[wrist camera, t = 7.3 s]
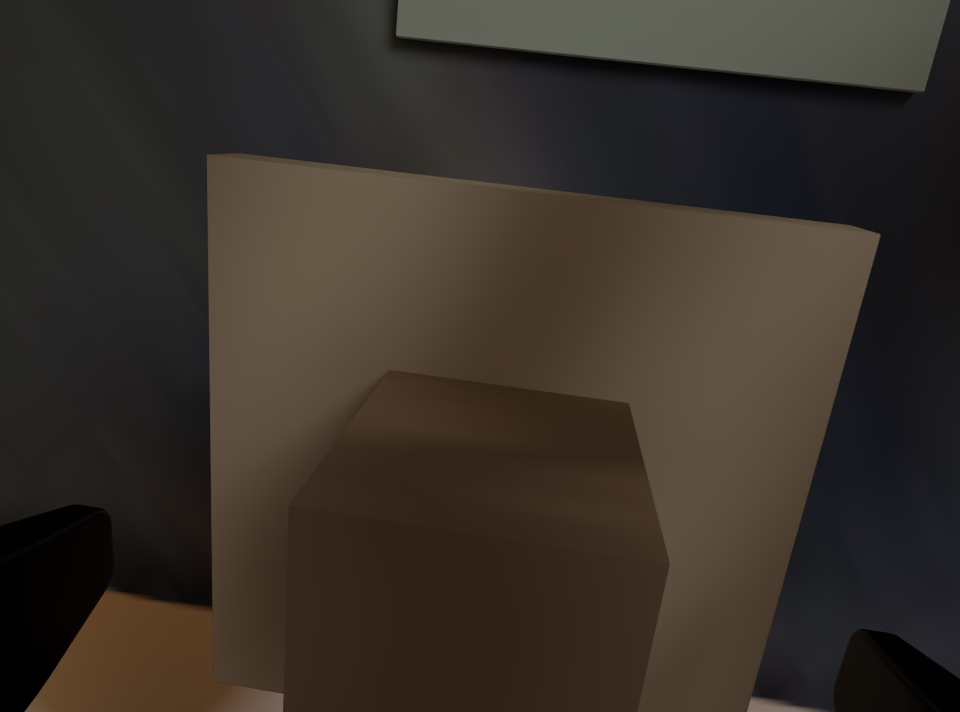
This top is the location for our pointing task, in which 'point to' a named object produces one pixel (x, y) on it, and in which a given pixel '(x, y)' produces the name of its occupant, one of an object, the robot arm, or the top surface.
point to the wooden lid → (508, 438)
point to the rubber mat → (705, 34)
